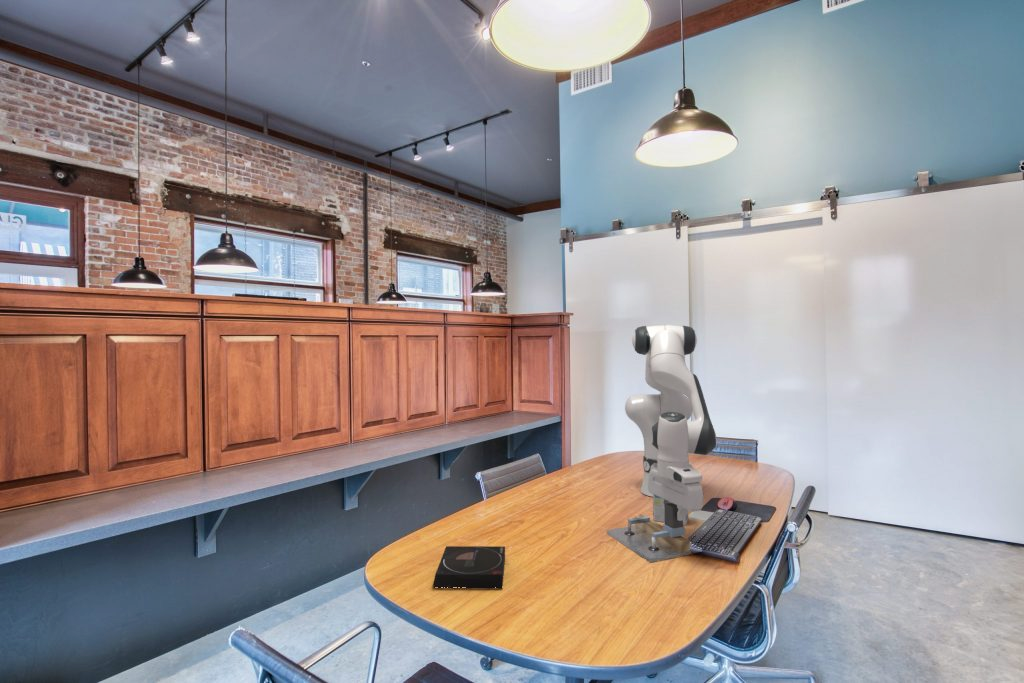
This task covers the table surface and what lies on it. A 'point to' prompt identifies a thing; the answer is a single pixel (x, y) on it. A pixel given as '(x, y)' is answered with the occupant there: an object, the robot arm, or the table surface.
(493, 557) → the portable cd player
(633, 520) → the rail
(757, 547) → the table surface
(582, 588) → the table surface
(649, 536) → the bolt plate
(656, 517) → the light bulb box
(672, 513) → the sliding point
